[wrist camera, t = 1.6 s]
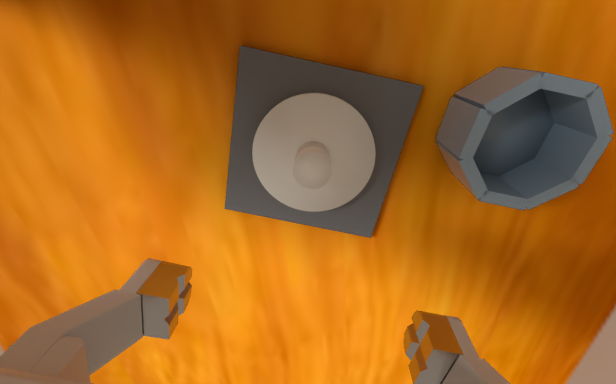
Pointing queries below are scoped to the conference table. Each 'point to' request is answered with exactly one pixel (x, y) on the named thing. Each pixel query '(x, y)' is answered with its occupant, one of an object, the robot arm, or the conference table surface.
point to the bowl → (524, 135)
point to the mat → (324, 79)
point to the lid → (313, 152)
